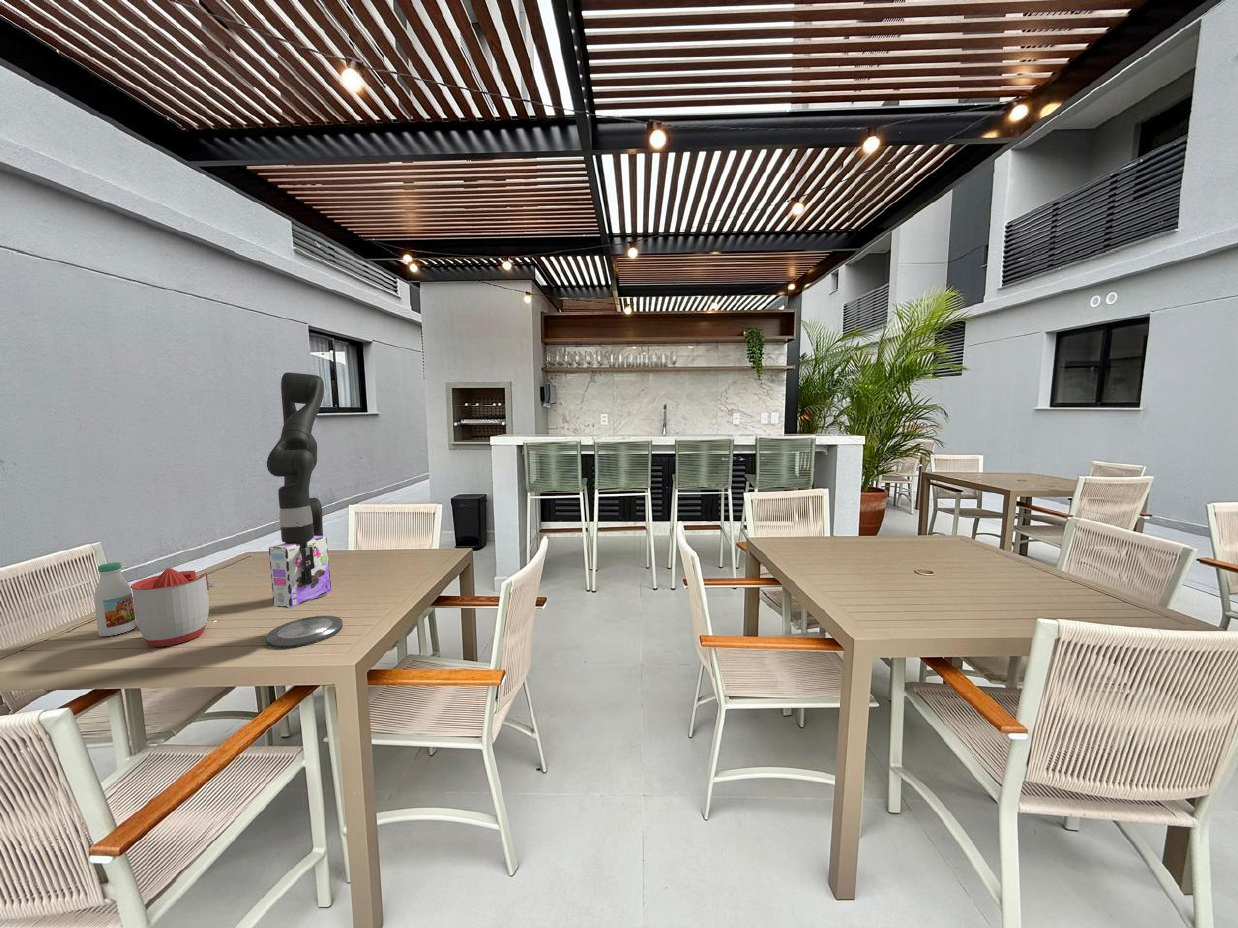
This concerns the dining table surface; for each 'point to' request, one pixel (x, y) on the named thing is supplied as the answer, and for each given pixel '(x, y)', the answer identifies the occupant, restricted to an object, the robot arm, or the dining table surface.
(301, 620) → the metal plate
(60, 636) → the dining table surface
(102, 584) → the milk bottle
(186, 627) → the citrus juicer
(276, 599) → the candy box
